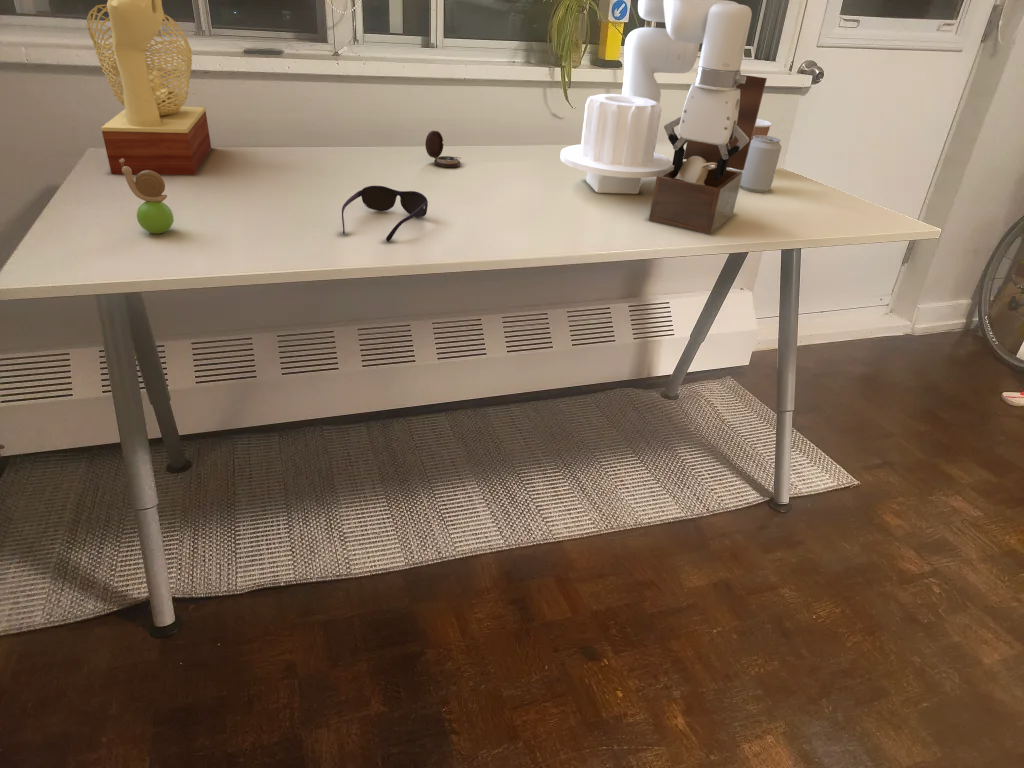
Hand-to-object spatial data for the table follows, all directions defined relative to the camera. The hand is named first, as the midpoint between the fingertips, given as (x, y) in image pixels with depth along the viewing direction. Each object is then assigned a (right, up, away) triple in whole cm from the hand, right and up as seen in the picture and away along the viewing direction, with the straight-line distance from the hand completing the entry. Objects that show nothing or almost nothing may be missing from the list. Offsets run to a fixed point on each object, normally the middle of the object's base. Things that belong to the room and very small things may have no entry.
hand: (697, 173), depth 140 cm
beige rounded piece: (-1, -2, +2) cm, 2 cm away
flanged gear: (-14, +3, +22) cm, 27 cm away
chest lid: (+6, +12, +4) cm, 14 cm away
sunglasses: (-60, -13, -10) cm, 63 cm away
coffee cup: (+24, +15, +47) cm, 54 cm away
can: (+21, +5, +30) cm, 37 cm away
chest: (+1, -7, +7) cm, 10 cm away
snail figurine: (-97, -16, -21) cm, 101 cm away
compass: (-53, +11, +30) cm, 62 cm away
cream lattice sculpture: (-114, +7, +15) cm, 115 cm away
